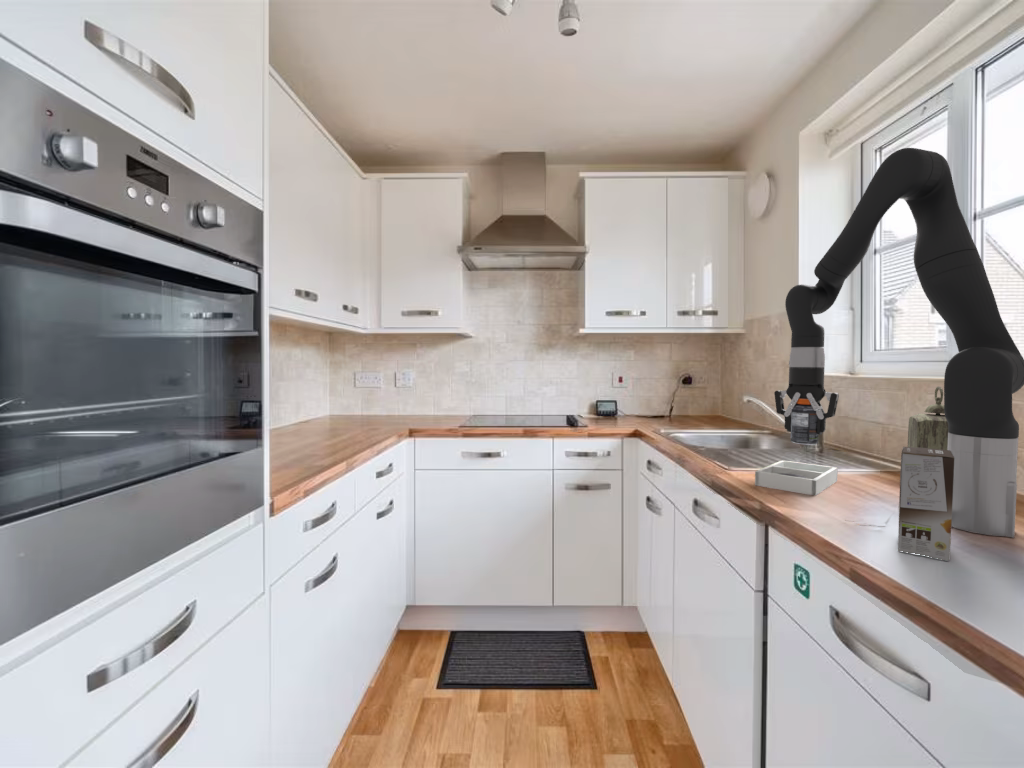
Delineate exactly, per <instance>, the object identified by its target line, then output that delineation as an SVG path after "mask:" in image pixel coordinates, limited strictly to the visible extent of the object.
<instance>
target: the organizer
mask: <svg viewBox="0 0 1024 768" xmlns="http://www.w3.org/2000/svg"><path fill="white" fill-rule="evenodd" d="M838 470H839V468H838V467H837V466H829V465H823V464H822V465H821V464H814V463H805V462H797V461H790V460H779V461H778V462H777V461H776V462H775V463H772V464H770V465H768V466H765V467H763V468H760V469H758V470H756V471H754V473H755V474H754V485H755V486H756V487H757V486H758V487H764V488H768V489H769V488H770V489H775V490H781V491H785V492H792V493H797V494H803V495H809V496H810V495H811V496H818V495H819V494H820V493H822V492H823V491H825V490H826V489H828V488H829V487H830V486H832V485H833V484H835V483H836V482H838ZM780 473H788V474H796V475H801V476H804V477H806V478H800V477H794V476H787V475H781V474H780Z"/></svg>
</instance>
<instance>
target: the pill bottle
mask: <svg viewBox="0 0 1024 768" xmlns="http://www.w3.org/2000/svg"><path fill="white" fill-rule="evenodd" d="M817 419H819V418H818V416H817V414H816V411H815V410H814V409H813V407H812V406H811V403H810V401H809V400H808V399H804V398H802V399H798V401H797V405H796V406H795V407H794V408H793V409H792V412H791V432H790V442H791V443H794V444H799V445H810V446H811V445H817V444H819V434H817Z"/></svg>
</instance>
